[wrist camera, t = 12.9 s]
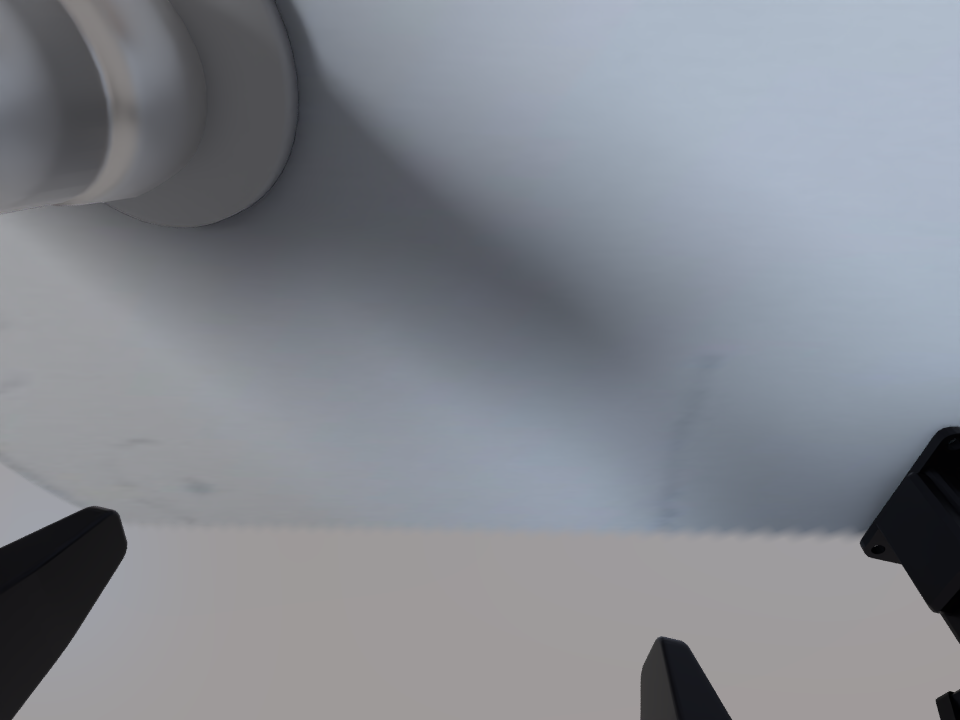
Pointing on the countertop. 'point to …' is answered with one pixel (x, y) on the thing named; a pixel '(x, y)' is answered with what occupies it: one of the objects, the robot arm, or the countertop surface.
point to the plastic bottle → (94, 100)
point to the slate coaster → (230, 115)
